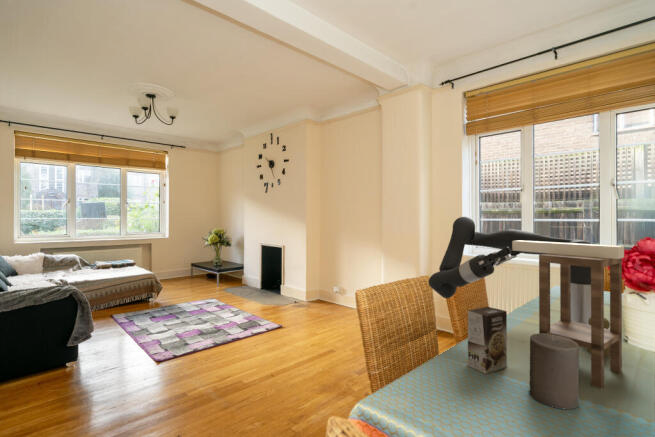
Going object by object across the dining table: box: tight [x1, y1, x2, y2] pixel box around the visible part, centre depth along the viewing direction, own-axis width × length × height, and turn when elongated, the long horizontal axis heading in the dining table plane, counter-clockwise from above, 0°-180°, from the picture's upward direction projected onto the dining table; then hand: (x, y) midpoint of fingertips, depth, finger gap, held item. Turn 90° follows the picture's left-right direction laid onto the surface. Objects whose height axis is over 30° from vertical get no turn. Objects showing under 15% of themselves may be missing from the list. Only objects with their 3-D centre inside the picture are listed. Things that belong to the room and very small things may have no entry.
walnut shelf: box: [538, 253, 623, 390], centre depth 92 cm, size 16×14×32 cm
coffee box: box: [467, 306, 508, 375], centre depth 95 cm, size 9×6×16 cm
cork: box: [586, 317, 610, 358], centre depth 103 cm, size 6×6×11 cm
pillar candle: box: [528, 333, 580, 410], centre depth 78 cm, size 10×10×15 cm
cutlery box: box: [512, 240, 625, 259], centre depth 95 cm, size 4×26×3 cm, turn 35°
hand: (516, 248), depth 106 cm, fingers open, 8 cm apart
